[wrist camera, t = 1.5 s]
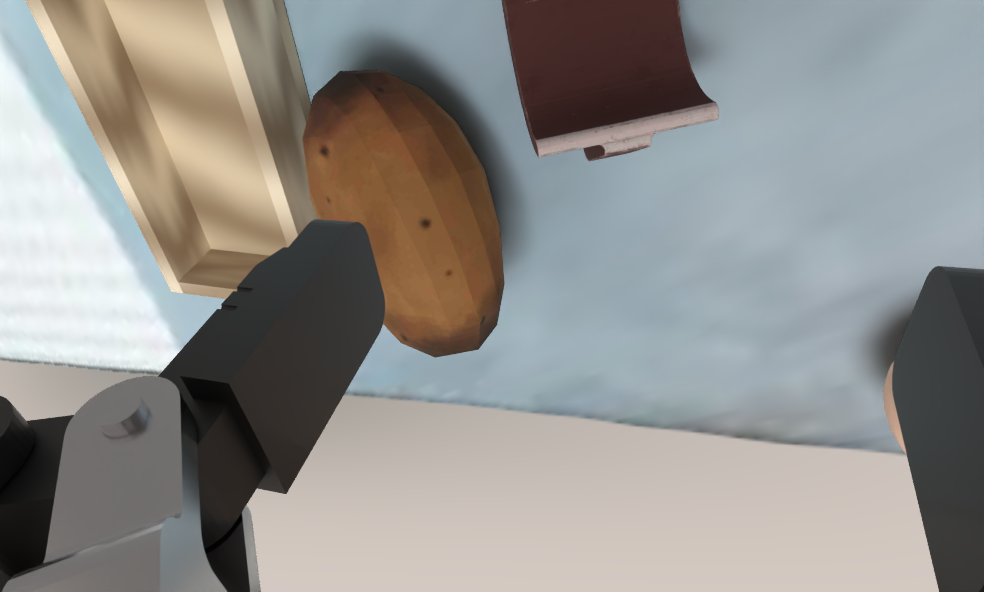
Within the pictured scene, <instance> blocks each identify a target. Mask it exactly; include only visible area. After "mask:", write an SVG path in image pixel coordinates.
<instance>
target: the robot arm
mask: <svg viewBox="0 0 984 592" xmlns="http://www.w3.org/2000/svg"><path fill="white" fill-rule="evenodd" d="M221 305H222V308H221V310H220V309H217V310H216V311H215V312H214V313H213V315H212V316H211V317H210V318H209V319H208V320H207V321H206V323H205V324H204V325H203V326H202V327H201V328H200V329H199V331H198V332H197V333H196V334H195V335H194V336H193V337H192V338H191V340H190V341H189V342H188V343H187V344H186V345H185V346H184V348H183V349H182V350H181V351H180V352H179V353H178V354H177V356H176V357H175V358H174V359H173V360H172V361H171V362H170V364H169V365H168V366H167V367H166V368H165V369H164V370H163V372H162V373H161V374H160V375H159V376H158V377H156V376H143V377H137V378H132V379H128V380H125V381H122V382H120V383H117V384H115V385H113V386H111V387H109V388H106V389H105V390H103V391H101V392H100V393H98V394H97V395H95V396H94V397H93V398H91V399H90V400H89V401H88V402H86V403H85V404H84V405H83V406H82V407H81V408H80V409H79V410H78V411H77V412H76V414H75V415H71V416H63V417H55V418H47V419H39V420H31V421H26V420H25V419H24V418H23V417H22V416H21V414H20V413H19V412H18V411H17V410H16V408H15V407H14V406H13V405H12V404H11V403H10V402H9V401H8V400H7V399H6V398H4V397H2V396H0V592H261V589H260V581H259V573H258V565H257V556H256V548H255V540H254V531H253V523H252V516H251V512H250V510H249V508H248V506H247V503H248V501H249V500H250V498H251V497H252V495H253V493H254V492H255V490H256V489H257V488H258V489H263V490H269V491H273V492H278V493H283V494H287V492H288V490H289V488H290V487H291V485H292V483H293V481H294V480H295V478H296V476H297V475H298V473H299V471H300V469H301V467H302V466H303V464H304V462H305V461H306V459H307V457H308V456H309V454H310V452H311V450H312V449H313V447H314V445H315V443H316V442H317V440H318V438H319V437H320V435H321V433H322V431H323V430H324V428H325V426H326V424H327V423H328V421H329V419H330V418H331V416H332V414H333V412H334V411H335V409H336V407H337V405H338V404H339V402H340V400H341V399H342V397H343V395H344V393H345V392H346V390H347V388H348V386H349V385H350V383H351V381H352V380H353V378H354V376H355V374H356V373H357V371H358V369H359V367H360V366H361V364H362V362H363V361H364V359H365V357H366V355H367V354H368V352H369V350H370V348H371V347H372V345H373V343H374V342H375V340H376V338H377V336H378V335H379V333H380V331H381V328H382V325H383V321H384V316H385V297H384V292H383V289H382V285H381V281H380V277H379V274H378V270H377V266H376V262H375V259H374V255H373V251H372V247H371V243H370V240H369V236H368V233H367V230H366V228H365V227H364V226H363V225H362V224H361V223H359V222H350V221H336V220H322V219H315V220H312V221H311V222H310V223H309V224H308V225H307V226H306V227H305V228H304V229H303V231H302V232H301V233H300V234H299V235H298V236H297V238H296V239H295V240H294V241H293V242H292V244H291V245H290V246H289V247H283V248H281V249H280V250H278V251H277V252H275V253H274V254H272V255H271V256H269V257H268V258H266V259H265V260H263V261H261V262H260V263H258V264H257V265H256V266H255V267H254V268H253V269H252V270H251V271H250V272H249V274H248V275H247V276H246V277H245V278H244V279H243V280H242V282H241V283H240V284H239V285H238V286H237V291H233V292H232V293H231V294H230V295H229V296H228V298H227V299H226V300H225V301H224V302H223V303H222V304H221ZM892 392H893V398H894V403H895V407H896V411H897V415H898V420H899V424H900V428H901V432H902V436H903V441H904V445H905V449H906V453H907V458H908V461H909V466H910V470H911V474H912V478H913V483H914V487H915V491H916V496H917V500H918V504H919V508H920V512H921V516H922V521H923V525H924V529H925V534H926V537H927V542H928V546H929V550H930V555H931V559H932V563H933V567H934V572H935V576H936V580H937V584H938V588H939V592H984V269H970V268H956V267H943V266H937V267H935V268H933V269H932V270H931V272H930V273H929V275H928V276H927V278H926V280H925V283H924V285H923V288H922V290H921V293H920V295H919V298H918V300H917V302H916V305H915V307H914V310H913V312H912V315H911V317H910V320H909V322H908V325H907V327H906V330H905V332H904V335H903V337H902V339H901V342H900V344H899V347H898V349H897V352H896V356H895V359H894V364H893V372H892Z"/></svg>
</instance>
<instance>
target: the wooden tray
mask: <svg viewBox="0 0 984 592" xmlns="http://www.w3.org/2000/svg"><path fill="white" fill-rule="evenodd" d="M25 1H26V3H27V5H28V7H29V9H30V11H31V13H32V15H33V17H34V19H35V21H36V23H37V25H38V27H39V29H40V31H41V33H42V35H43V37H44V39H45V41H46V42H47V44H48V46H49V48H50V50H51V52H52V54H53V56H54V58H55V60H56V62H57V64H58V66H59V68H60V70H61V72H62V74H63V76H64V78H65V80H66V82H67V84H68V86H69V88H70V90H71V92H72V94H73V96H74V98H75V100H76V102H77V104H78V106H79V108H80V110H81V112H82V114H83V116H84V118H85V120H86V122H87V124H88V126H89V128H90V130H91V132H92V134H93V136H94V138H95V140H96V142H97V144H98V146H99V148H100V150H101V152H102V154H103V156H104V158H105V160H106V162H107V164H108V166H109V168H110V170H111V172H112V174H113V176H114V178H115V180H116V182H117V184H118V186H119V188H120V190H121V192H122V194H123V196H124V198H125V200H126V202H127V204H128V206H129V208H130V210H131V212H132V214H133V216H134V218H135V220H136V222H137V224H138V226H139V228H140V230H141V232H142V234H143V236H144V238H145V240H146V242H147V244H148V246H149V248H150V250H151V252H152V254H153V256H154V258H155V260H156V262H157V264H158V266H159V268H160V270H161V272H162V274H163V276H164V278H165V280H166V282H167V284H168V286H169V288H170V290H171V292H178V293H186V294H193V295H201V296H208V297H216V298H223V299H227V298H228V296H229V295H230V294H231V293H232V292H233V291H237V286H238V285H239V284H240V283H241V282H242V280H243V279H244V278H245V277H246V276H247V275H248V274H249V272H250V271H251V270H252V269H253V268H254V267H255V266H256V265H257V264H258V263H260V262H261V261H263V260H265V259H266V258H268V257H269V256H271V255H272V254H274V253H275V252H277V251H278V250H280V249H281V248H283V247H289V246H290V245H291V244H292V242H293V241H294V240H295V239H296V238H297V236H298V235H299V234H300V233H301V232H302V231H303V229H304V228H305V227H306V226H307V225H308V224H309V223H310V222H311V221H312V220H315V219H318V218H317V216H316V213H315V210H314V208H313V205H312V202H311V200H310V193H309V185H308V178H307V170H306V163H305V155H304V148H303V140H302V138H303V134H304V130H305V126H306V123H307V119H308V115H309V111H310V107H311V103H310V100H309V96H308V92H307V88H306V85H305V81H304V77H303V73H302V69H301V66H300V62H299V58H298V54H297V51H296V47H295V43H294V39H293V35H292V32H291V28H290V24H289V20H288V17H287V13H286V9H285V5H284V1H283V0H25Z"/></svg>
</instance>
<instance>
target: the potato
mask: <svg viewBox="0 0 984 592" xmlns="http://www.w3.org/2000/svg"><path fill="white" fill-rule="evenodd" d="M302 140H303V148H304V155H305V163H306V170H307V178H308V185H309V193H310V200H311V202H312V205H313V208H314V210H315V213H316V216H317V218H318V219H322V220H336V221H350V222H359V223H361V224H362V225H363V226H364V227H365V228H366V230H367V233H368V236H369V240H370V243H371V247H372V251H373V255H374V259H375V262H376V266H377V270H378V274H379V277H380V281H381V285H382V289H383V292H384V297H385V316H384V321H383V324H384V325H385V326H386V327H387V329H388V330H389V331H390V332H391V333H392V334H393V335H394V336H395V337H396V338H397V339H398V340H399V341H400V342H401V343H402V344H405V345H407V346H410V347H412V348H414V349H417V350H419V351H421V352H424V353H426V354H428V355H431V356H433V357H440V356H446V355H451V354H457V353H462V352H467V351H473V350H478V349H479V348H480V347H481V345H482V344H483V343H484V341H485V340H486V339H487V337H488V336H489V335H490V333H491V332H492V331H493V329H494V328H495V327H496V325H497V322H498V316H499V311H500V305H501V300H502V294H503V288H504V273H503V260H502V248H501V235H500V226H499V222H498V218H497V215H496V211H495V207H494V204H493V200H492V196H491V192H490V189H489V185H488V181H487V178H486V174H485V170H484V167H483V166H482V164H481V162H480V161H479V159H478V157H477V156H476V154H475V152H474V151H473V149H472V147H471V146H470V144H469V142H468V141H467V139H466V137H465V136H464V134H463V132H462V131H461V129H460V127H459V126H458V124H457V122H456V121H455V120H454V119H453V118H452V117H451V116H450V115H448V114H447V113H446V112H445V111H444V110H443V109H442V108H441V107H440V106H439V105H438V104H437V103H436V102H435V101H434V100H433V99H432V98H431V97H429V96H428V95H427V94H426V93H425V92H424V91H423V90H422V89H420V88H418V87H416V86H414V85H412V84H410V83H408V82H406V81H404V80H402V79H399V78H397V77H395V76H393V75H391V74H389V73H387V72H383V71H378V70H364V71H340V72H339V73H338V74H337V75H336V76H334V77H333V78H332V79H331V80H330V81H329V82H328V83H327V84H326V85H325V86H324V87H323V88H321V89H320V90H319V91H318V92H317V93H316V94H315V95H314V96H313V100H312V104H311V107H310V111H309V115H308V119H307V123H306V126H305V130H304V134H303V138H302Z"/></svg>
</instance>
